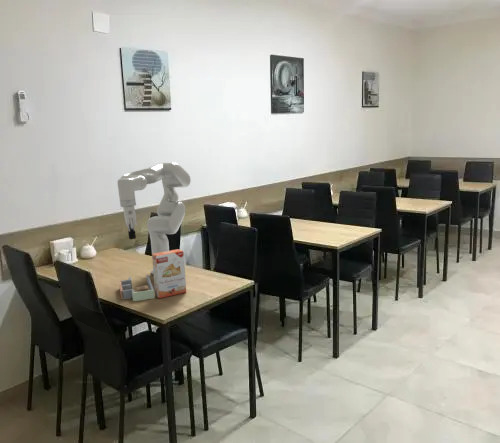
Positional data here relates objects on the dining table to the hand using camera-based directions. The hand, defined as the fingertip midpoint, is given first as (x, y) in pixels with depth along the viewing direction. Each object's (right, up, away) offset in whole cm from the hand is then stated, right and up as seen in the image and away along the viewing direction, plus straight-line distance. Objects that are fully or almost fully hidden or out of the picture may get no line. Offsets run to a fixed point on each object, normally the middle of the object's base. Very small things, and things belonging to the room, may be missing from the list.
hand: (132, 238), depth 244 cm
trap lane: (+3, -26, -6) cm, 27 cm away
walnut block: (+9, -27, -15) cm, 32 cm away
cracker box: (+21, -26, -12) cm, 36 cm away
